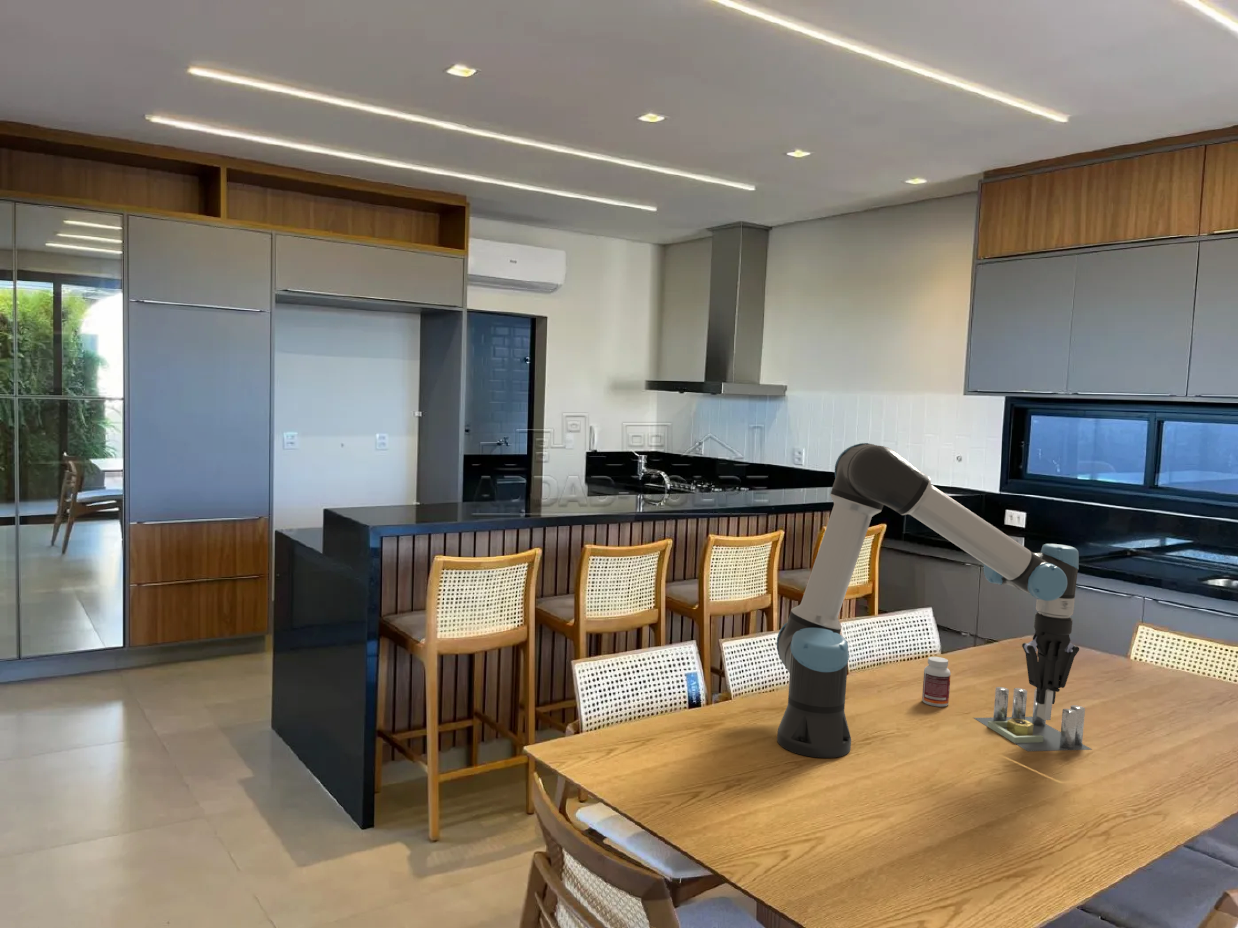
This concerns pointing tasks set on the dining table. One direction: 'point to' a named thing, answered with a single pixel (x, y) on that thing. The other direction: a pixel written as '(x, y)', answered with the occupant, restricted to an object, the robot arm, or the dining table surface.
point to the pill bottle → (936, 682)
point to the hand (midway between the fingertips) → (1043, 717)
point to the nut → (1020, 727)
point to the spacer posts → (1070, 718)
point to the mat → (1049, 735)
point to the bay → (999, 729)
